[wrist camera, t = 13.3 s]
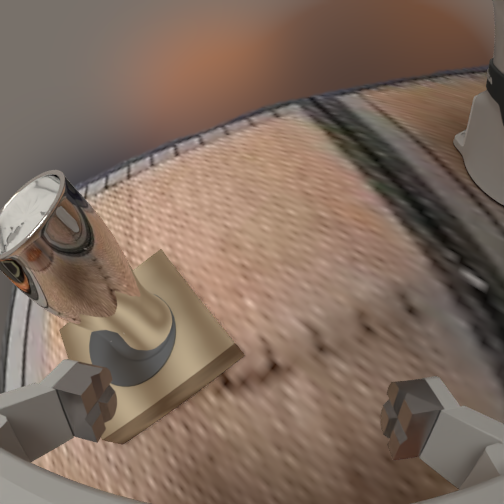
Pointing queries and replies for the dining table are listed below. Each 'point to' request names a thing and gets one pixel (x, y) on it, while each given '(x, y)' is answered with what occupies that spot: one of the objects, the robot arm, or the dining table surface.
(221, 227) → the dining table surface
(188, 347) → the brass stand
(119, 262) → the beer glass
